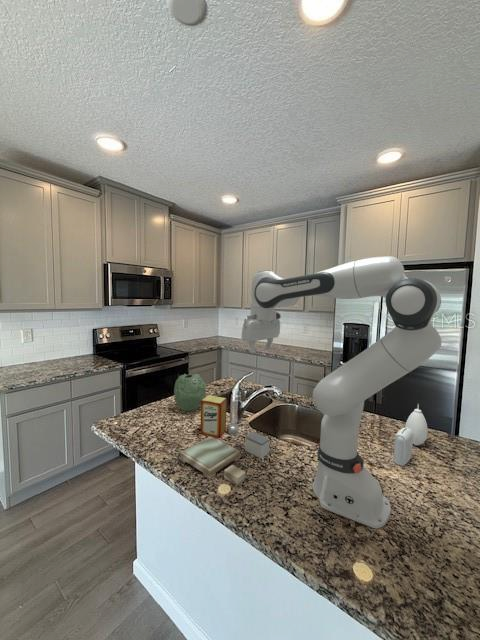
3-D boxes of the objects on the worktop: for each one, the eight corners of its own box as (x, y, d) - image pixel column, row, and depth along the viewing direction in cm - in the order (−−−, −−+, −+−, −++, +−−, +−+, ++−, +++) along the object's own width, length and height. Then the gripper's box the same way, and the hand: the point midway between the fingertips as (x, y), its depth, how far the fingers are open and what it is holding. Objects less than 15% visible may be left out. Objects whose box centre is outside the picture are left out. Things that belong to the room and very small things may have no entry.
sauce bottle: (411, 438, 122) (414, 399, 120) (430, 446, 115) (433, 405, 113) (400, 441, 118) (403, 401, 117) (418, 451, 111) (422, 408, 110)
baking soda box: (225, 431, 123) (226, 397, 122) (220, 438, 117) (220, 402, 116) (206, 427, 126) (207, 394, 125) (200, 434, 120) (201, 399, 119)
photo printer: (400, 452, 110) (403, 423, 109) (412, 457, 107) (415, 427, 106) (391, 462, 103) (393, 431, 102) (404, 468, 100) (406, 435, 99)
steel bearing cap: (239, 432, 123) (240, 425, 123) (232, 436, 120) (232, 429, 119) (231, 428, 127) (231, 422, 126) (224, 432, 123) (224, 425, 123)
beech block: (245, 480, 91) (245, 472, 91) (237, 486, 88) (237, 478, 88) (231, 472, 95) (232, 464, 95) (224, 478, 92) (224, 470, 92)
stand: (240, 458, 103) (240, 450, 103) (209, 479, 91) (209, 470, 90) (210, 443, 113) (210, 435, 113) (179, 460, 101) (179, 451, 101)
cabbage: (182, 402, 156) (182, 368, 154) (211, 407, 149) (212, 372, 147) (165, 412, 141) (165, 375, 139) (197, 419, 135) (198, 380, 133)
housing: (268, 453, 107) (269, 438, 107) (261, 458, 103) (261, 443, 103) (252, 445, 112) (253, 431, 112) (245, 450, 108) (245, 436, 108)
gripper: (252, 316, 92) (250, 356, 93) (283, 314, 108) (282, 348, 109) (238, 315, 96) (236, 353, 97) (270, 313, 112) (268, 346, 113)
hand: (261, 351), depth 103 cm, fingers open, 8 cm apart
